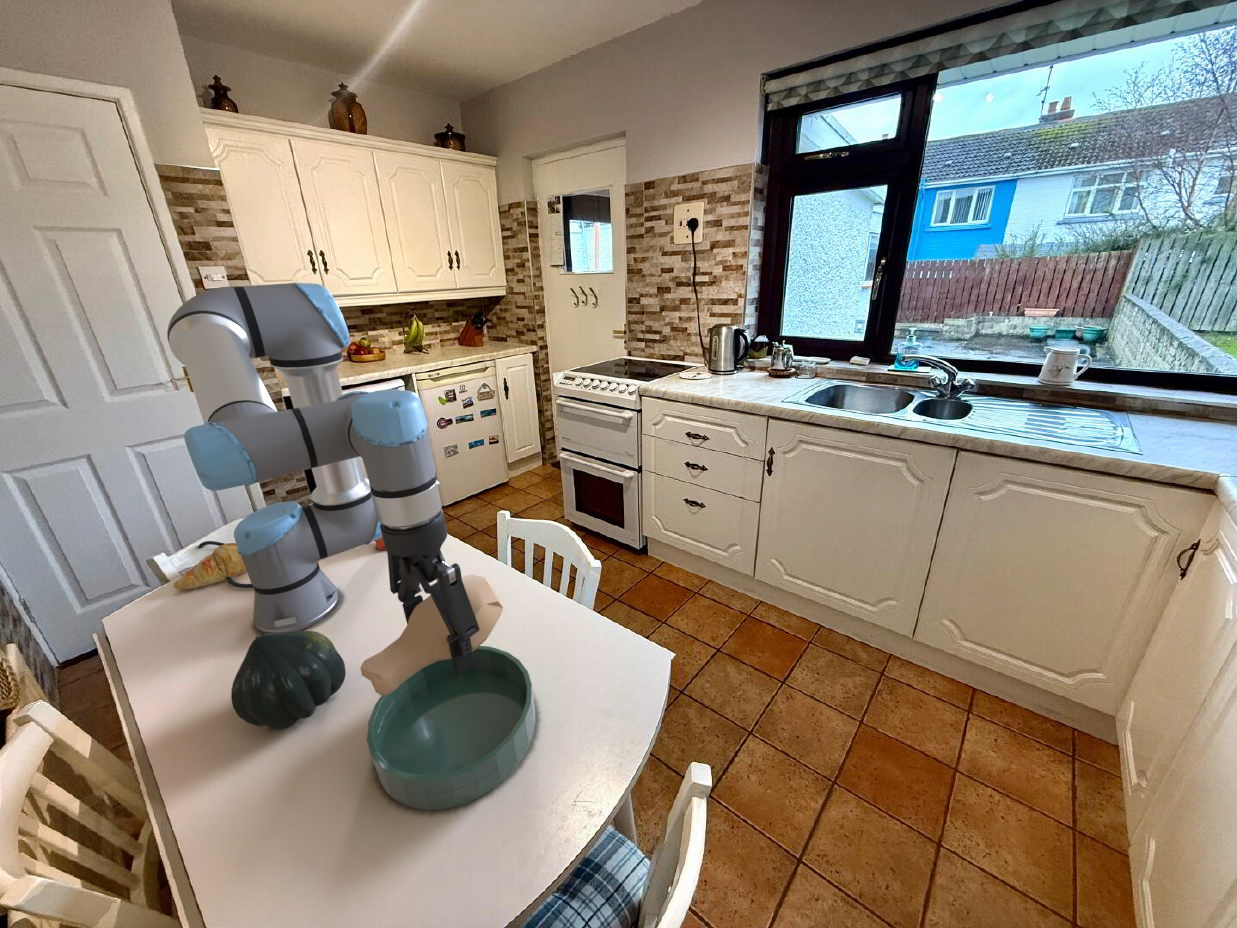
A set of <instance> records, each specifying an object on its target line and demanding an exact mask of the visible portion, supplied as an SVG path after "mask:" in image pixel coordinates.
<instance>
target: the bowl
mask: <svg viewBox="0 0 1237 928" xmlns="http://www.w3.org/2000/svg"><path fill="white" fill-rule="evenodd" d="M473 657H474V662H475V664H474V665H473V666H471V667H470V668H469V669H467V670H466V671H465V672H464V673H462V674H461V675H460V676H457V675H456V674H455V671H454V667H453V662H452V659H448V660H440V661H437V662H435V663H433V664H430V665H428V666H426V667H424V668H422V669H420V670H419V671H418V672H416V673H415V674H414V675H412V676H411V677H409V678H408V679H407V680H405V681H404V682H403V683H402V684H401V685H400V686H399V687H398V688H397V689H396V690H395V691H393V692H392V693H390V694H388V695H387V696H383V695H380V697H379V698H378V700H377V701H376V703H375V704H374V706H373V709H372V711H371V714H370V717H369V719H368V722H367V731H366V733H367V734H366V743H367V746H368V749H369V752H370V756H371V758H372V759H371V760H372V762H373V765H374V767H375V771H376V773H377V776H378V777H377V778H378V780H379V782H380V785H381V786H382V787H383V789H384V790H385V792H386V793H387V794H388V795H389V796H390V797H391V798H392V799H394V800H395V801H397V802H399V804H402V805H404V806H407V807H410V808H413V809H417V810H424V811H425V810H427V811H437V810H438V811H439V810H446V809H450V808H451V809H452V808H455V807H459V806H462V805H465V804H468V803H470V802H473V801H474V800H477V799H479V798H481V797H483V796H484V795H486V794H487V793H489V792H490V791H492V790H493V789H494V788H496V787H497V786H499V785H501V783H502V782H503V781H505V780H506V779H507V778H508V777H509V776H510V775H511V774H512V773H513V772H514V770H515V769H516V768H517V767H518V765H519V764H520V762H521V761H522V760H523V758H524V757H525V755H526V753H527V751H528V750H529V747H530V745H531V742H532V740H533V736H534V732H535V727H536V705H535V704H536V703H535V698H534V690H533V684H532V681H531V677H530V674H529V671H528V670H527V668H526V667H525V666H524V664H523V663H522V662H521V660H520V659H518V658H517V657H516V656H514V655H513V654H511V653H510V652H508V651H506V650H503V649H500V648H496V647H494V646H490V645H489V646H487V645H480V646H479V647H477V648H476V649H475V650H474V651H473Z"/></svg>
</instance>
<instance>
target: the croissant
mask: <svg viewBox="0 0 1237 928" xmlns="http://www.w3.org/2000/svg"><path fill="white" fill-rule="evenodd" d="M244 572H247V570H246V568H245V565H244V562H243V560H242V557H241V555H239V554H238V552H237V545H236V542H228V543H227V542H226V543H225V544H224V545H221V546H218V547H216V548H215V549H214V550H213V551H212V554H209V555H206V557H204V558H202V559H201V560H199V562H198V564H197V565H195V566H194V567H193V568H191V569H188V570H187V571H185V573H183V575H182V576H181V578H180V579H178V580H176V581H174V582H173V583H172V588H173V589H174V590H175V591H176V590H177V591H183V590H185V591H186V590H191V589H198V588H201V587H202V588H203V587H205V586H209V585H214V584H217V583H220V582H224V581H227V579H226V577H231V578H232V579H233V578H234V577H236V576H238V575H240V574H242V573H244Z"/></svg>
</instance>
